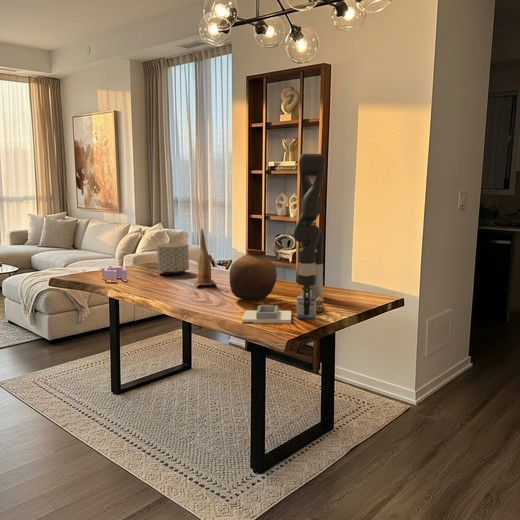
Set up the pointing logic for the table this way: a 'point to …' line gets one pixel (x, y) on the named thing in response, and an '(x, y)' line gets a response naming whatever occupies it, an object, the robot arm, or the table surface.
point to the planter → (173, 258)
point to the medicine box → (301, 308)
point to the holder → (267, 315)
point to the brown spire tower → (204, 265)
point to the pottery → (252, 276)
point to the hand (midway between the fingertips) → (306, 312)
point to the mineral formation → (318, 303)
